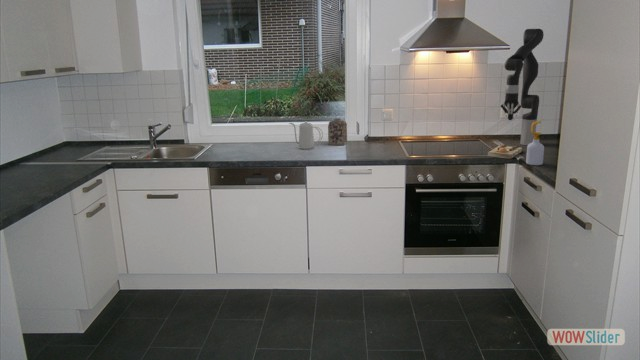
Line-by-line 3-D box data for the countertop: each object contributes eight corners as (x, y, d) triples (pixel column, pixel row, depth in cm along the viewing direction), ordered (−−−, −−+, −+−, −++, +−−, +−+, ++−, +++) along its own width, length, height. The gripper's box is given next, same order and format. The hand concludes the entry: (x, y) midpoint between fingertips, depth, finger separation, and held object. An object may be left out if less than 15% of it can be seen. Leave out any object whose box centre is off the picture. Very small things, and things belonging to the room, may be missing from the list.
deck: (499, 149, 340) (500, 143, 339) (522, 151, 332) (522, 145, 331) (487, 156, 322) (488, 150, 321) (510, 158, 314) (511, 152, 313)
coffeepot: (292, 145, 370) (291, 119, 365) (325, 147, 361) (325, 120, 356) (286, 148, 360) (285, 121, 355) (319, 150, 351) (319, 122, 346)
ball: (497, 148, 320) (497, 156, 322) (505, 148, 318) (505, 156, 319) (499, 146, 324) (499, 154, 326) (507, 146, 321) (507, 154, 323)
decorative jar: (347, 142, 376) (347, 117, 372) (344, 145, 365) (344, 120, 361) (331, 142, 379) (330, 117, 374) (327, 145, 368) (327, 119, 363)
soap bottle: (544, 165, 295) (548, 122, 289) (527, 165, 297) (530, 122, 291) (541, 161, 304) (544, 120, 297) (524, 161, 306) (527, 119, 299)
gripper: (524, 91, 321) (522, 119, 325) (503, 91, 328) (501, 118, 333) (521, 93, 315) (519, 121, 320) (499, 92, 322) (497, 120, 327)
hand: (510, 120), depth 326 cm, fingers closed
